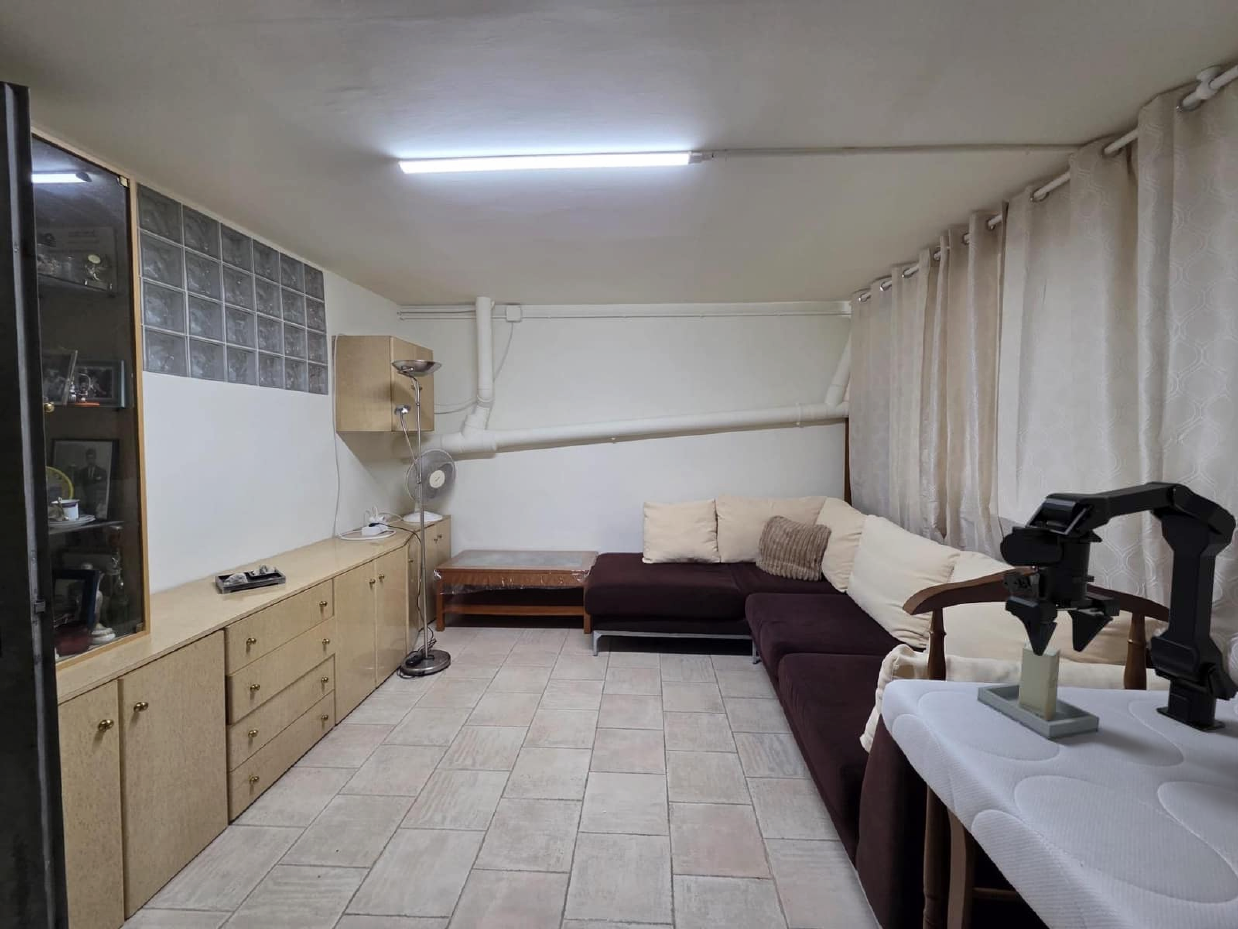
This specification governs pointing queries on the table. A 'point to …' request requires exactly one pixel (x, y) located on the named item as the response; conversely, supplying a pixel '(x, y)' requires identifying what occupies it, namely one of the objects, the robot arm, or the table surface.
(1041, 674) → the skincare box
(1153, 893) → the table surface
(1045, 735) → the sorting tray
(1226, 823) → the table surface
